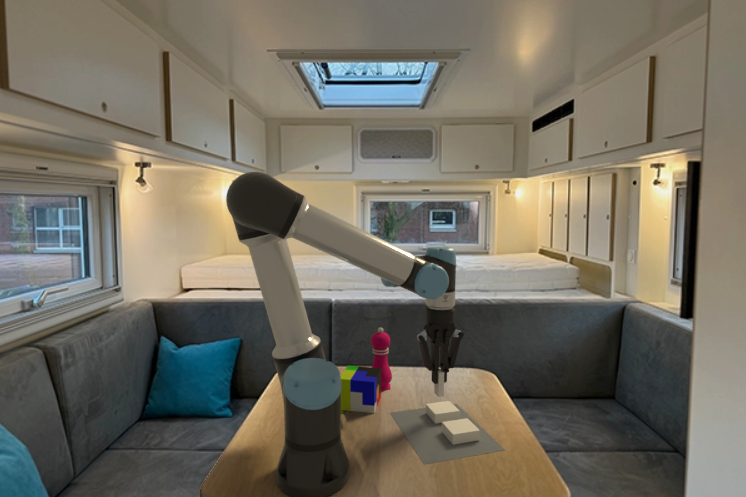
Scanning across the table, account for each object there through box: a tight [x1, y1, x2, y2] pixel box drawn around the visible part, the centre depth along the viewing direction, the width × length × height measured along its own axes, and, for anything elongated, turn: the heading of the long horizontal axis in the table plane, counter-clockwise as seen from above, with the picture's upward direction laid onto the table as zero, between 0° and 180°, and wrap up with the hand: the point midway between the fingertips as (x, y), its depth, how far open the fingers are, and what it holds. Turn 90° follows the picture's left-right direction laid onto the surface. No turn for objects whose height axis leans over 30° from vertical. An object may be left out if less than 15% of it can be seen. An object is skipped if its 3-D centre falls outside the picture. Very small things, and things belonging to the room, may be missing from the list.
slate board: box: [389, 403, 506, 465], centre depth 104 cm, size 24×20×1 cm
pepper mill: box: [370, 327, 393, 392], centre depth 129 cm, size 7×7×20 cm
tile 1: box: [425, 400, 460, 424], centre depth 111 cm, size 6×3×7 cm
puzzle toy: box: [340, 365, 382, 415], centre depth 118 cm, size 10×10×10 cm
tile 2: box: [442, 418, 480, 445], centre depth 101 cm, size 6×3×7 cm
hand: (439, 394), depth 110 cm, fingers closed
